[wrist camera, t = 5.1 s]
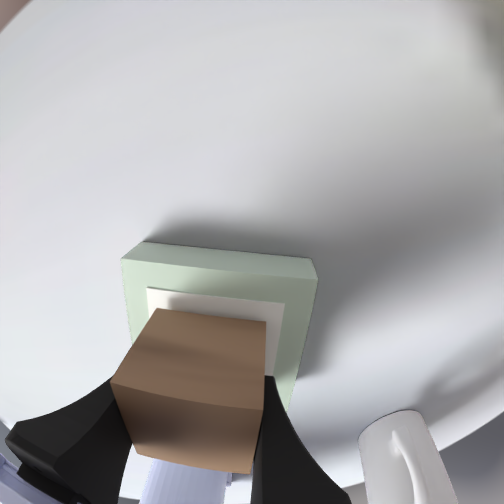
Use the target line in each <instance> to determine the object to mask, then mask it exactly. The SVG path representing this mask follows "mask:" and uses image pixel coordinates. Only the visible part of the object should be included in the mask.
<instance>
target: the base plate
mask: <svg viewBox="0 0 504 504" xmlns="http://www.w3.org/2000/svg"><path fill="white" fill-rule="evenodd" d="M121 268H122V277H123V286H124V295H125V302H126V309H127V316H128V323H129V329H130V335H131V340H132V345H133V343H134V342H135V340H136V339H137V337H138V336H139V334H140V332H141V331H142V329H143V328H144V326H145V325H146V323H147V322H148V320H149V319H150V317H151V316H152V314H153V313H154V311H155V309H156V308H162V309H169V310H175V311H182V312H189V313H196V314H204V315H212V316H220V317H228V318H237V319H246V320H256V321H266V350H265V375H268V376H274V377H275V381H276V385H277V389H278V392H279V395H280V398H281V401H282V404H283V406H284V409H285V411H286V412H287V410H288V406H289V403H290V399H291V396H292V392H293V388H294V385H295V381H296V377H297V373H298V369H299V365H300V361H301V357H302V353H303V349H304V345H305V340H306V336H307V332H308V327H309V323H310V318H311V314H312V309H313V304H314V299H315V294H316V289H317V284H318V277H317V274H316V271H315V268H314V266H313V263H312V260H311V259H310V258H300V257H290V256H280V255H270V254H260V253H250V252H239V251H229V250H219V249H209V248H199V247H189V246H179V245H169V244H159V243H149V242H140V243H139V244H138V245H137V246H135V247H134V248H133V249H132V250H130V251H129V252H128V253H127V254H126V255H124V256H123V257H122V258H121Z"/></svg>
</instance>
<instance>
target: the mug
mask: <svg viewBox="0 0 504 504" xmlns="http://www.w3.org/2000/svg"><path fill="white" fill-rule="evenodd" d="M358 444H359V450H360V456H361V462H362V468H363V474H364V479H365V485H366V492H367V498H368V504H458V501H457V498H456V495H455V492H454V490H453V487H452V485H451V482H450V480H449V477H448V475H447V472H446V470H445V467H444V464H443V462H442V460H441V457H440V455H439V452H438V450H437V448H436V445H435V443H434V441H433V438H432V436H431V434H430V432H429V430H428V428H427V426H426V424H425V422H424V420H423V417H422V416H421V414H420V413H419V412H417V411H413V410H405V411H399V412H395V413H392V414H389V415H387V416H385V417H382V418H380V419H379V420H377V421H375V422H374V423H372V424H371V425H369V426H368V427H367V428H366V429H365V430H364V431H363V432H362V433H361V435H360V437H359V440H358Z"/></svg>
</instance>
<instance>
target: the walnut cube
mask: <svg viewBox="0 0 504 504" xmlns="http://www.w3.org/2000/svg"><path fill="white" fill-rule="evenodd" d="M265 350H266V321H256V320H246V319H237V318H228V317H220V316H212V315H204V314H196V313H189V312H182V311H175V310H169V309H162V308H156V309H155V311H154V313H153V314H152V316H151V317H150V319H149V320H148V322H147V323H146V325H145V326H144V328H143V329H142V331H141V332H140V334H139V336H138V337H137V339H136V340H135V342H134V343H133V345H132V347H131V348H130V350H129V351H128V353H127V355H126V356H125V358H124V359H123V361H122V363H121V364H120V366H119V367H118V369H117V371H116V372H115V374H114V376H113V377H112V379H111V381H110V384H111V387H112V390H113V393H114V396H115V399H116V402H117V405H118V408H119V410H120V413H121V416H122V418H123V421H124V423H125V426H126V428H127V431H128V433H129V435H130V438H131V440H132V442H133V445H134V447H135V449H136V451H137V454H140V455H144V456H147V457H151V458H155V459H159V460H163V461H167V462H172V463H176V464H181V465H186V466H191V467H197V468H203V469H209V470H216V471H223V472H231V473H241V474H250V472H251V467H252V463H253V458H254V453H255V449H256V444H257V439H258V434H259V429H260V424H261V419H262V413H263V403H264V378H265Z"/></svg>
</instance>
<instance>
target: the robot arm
mask: <svg viewBox="0 0 504 504" xmlns="http://www.w3.org/2000/svg"><path fill="white" fill-rule="evenodd" d="M113 376H114V375H113ZM113 376H112V377H113ZM112 377H111V378H109V379H108V380H107V381H106V382H104V383H103V384H102V385H100V386H99V387H97V388H96V389H95V390H93V391H92V392H90V393H89V394H87V395H86V396H84V397H83V398H81V399H79V400H77V401H76V402H74V403H72V404H70V405H68V406H66V407H63V408H61V409H59V410H57V411H54V412H52V413H49V414H46V415H43V416H40V417H37V418H33V419H28V420H24V421H19V422H17V423H16V424H15V425H14V427H13V428H12V430H11V431H10V433H9V434H8V436H7V437H6V438H5V442H6V444H7V446H8V447H9V449H10V450H11V451H12V452H13V453H14V454H15V455H16V456H17V457H18V459H19V460H21V462H22V464H21V466H20V468H18V467H16V466H15V465H13V464H12V463H11V462H9V461H8V460H7V459H6V458H5V457H4V456H3V455H2V454H1V453H0V504H117V503H118V497H119V491H120V487H121V482H122V477H123V473H124V469H125V465H126V462H127V458H128V455H129V452H130V449H131V446H132V443H133V442H132V440H131V438H130V435H129V433H128V431H127V428H126V426H125V423H124V421H123V418H122V416H121V413H120V410H119V408H118V405H117V402H116V399H115V396H114V393H113V390H112V387H111V384H110V381H111V379H112ZM253 462H254V465H253V482H252V493H251V503H250V504H352V503H351V500H350V498H349V496H348V494H347V493H346V492H345V491H343V490H342V489H341V488H340V487H339V486H338V485H337V484H336V483H335V482H334V481H333V480H332V479H331V478H330V477H329V476H328V475H327V474H326V473H325V472H324V471H323V470H322V468H321V467H320V466H319V465H318V464H317V462H316V461H315V460H314V459H313V458H312V456H311V455H310V454H309V452H308V451H307V449H306V448H305V446H304V445H303V443H302V442H301V440H300V438H299V437H298V435H297V433H296V432H295V430H294V428H293V426H292V424H291V422H290V420H289V418H288V416H287V413H286V411H285V409H284V406H283V404H282V401H281V398H280V395H279V392H278V389H277V385H276V381H275V377H274V376H268V375H265V378H264V403H263V413H262V419H261V424H260V429H259V434H258V439H257V444H256V449H255V453H254V458H253ZM231 481H232V473H231V472H223V471H216V470H209V469H203V468H197V467H191V466H186V465H181V464H176V463H172V462H167V461H163V460H159V459H155V458H154V460H153V463H152V466H151V469H150V472H149V475H148V478H147V481H146V484H145V487H144V490H143V493H142V496H141V500H140V503H139V504H224V497H225V489H226V486H227V487H228V486H231Z"/></svg>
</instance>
